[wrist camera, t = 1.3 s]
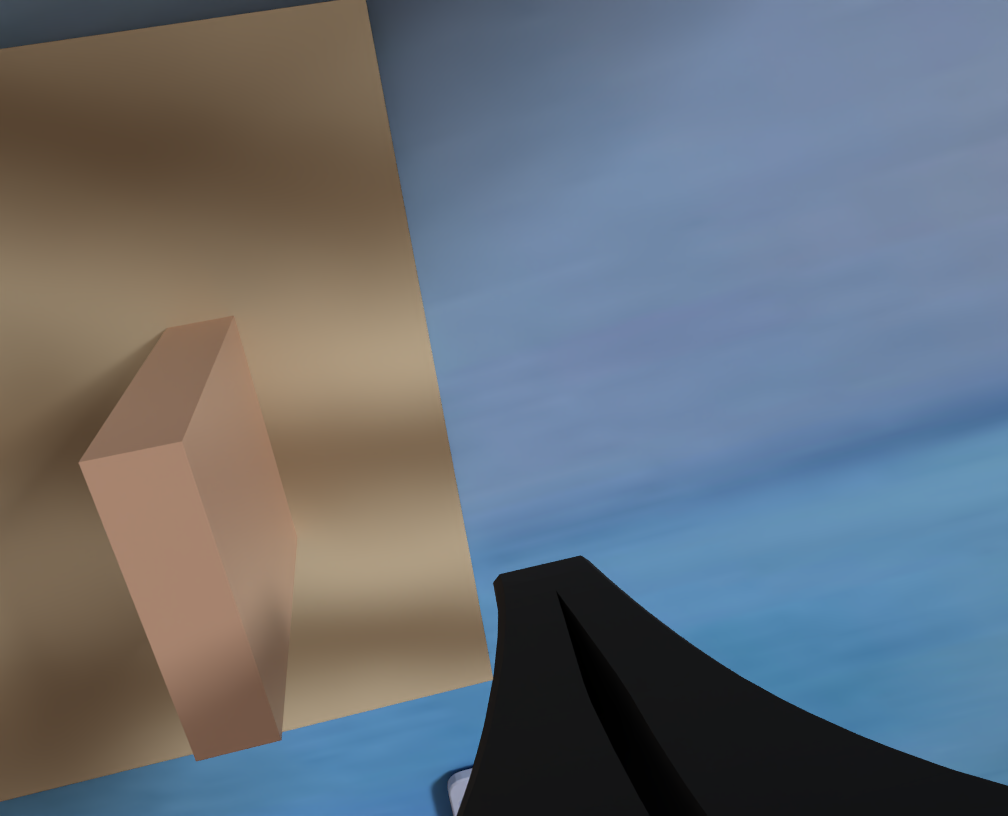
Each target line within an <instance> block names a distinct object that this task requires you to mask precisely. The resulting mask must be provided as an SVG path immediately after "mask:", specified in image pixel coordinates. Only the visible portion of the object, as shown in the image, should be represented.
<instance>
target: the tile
mask: <svg viewBox="0 0 1008 816" xmlns="http://www.w3.org/2000/svg"><path fill="white" fill-rule="evenodd" d="M79 465H80V468H81V470H82V473H83V475H84V478H85V480H86V483H87V485H88V488H89V490H90V493H91V495H92V498H93V501H94V503H95V506H96V508H97V511H98V513H99V516H100V518H101V521H102V523H103V526H104V529H105V531H106V534H107V536H108V539H109V541H110V544H111V546H112V549H113V551H114V554H115V556H116V559H117V562H118V564H119V567H120V569H121V572H122V574H123V577H124V579H125V582H126V584H127V587H128V589H129V592H130V595H131V597H132V600H133V602H134V605H135V607H136V610H137V612H138V615H139V617H140V620H141V622H142V625H143V628H144V630H145V633H146V635H147V638H148V640H149V643H150V645H151V648H152V650H153V653H154V655H155V658H156V661H157V663H158V666H159V668H160V671H161V673H162V676H163V678H164V681H165V683H166V686H167V688H168V691H169V694H170V696H171V699H172V701H173V704H174V706H175V709H176V711H177V714H178V716H179V719H180V721H181V724H182V727H183V729H184V732H185V734H186V737H187V739H188V742H189V744H190V747H191V749H192V752H193V755H194V757H195V760H196V761H200V760H204V759H208V758H212V757H216V756H220V755H224V754H228V753H232V752H236V751H240V750H244V749H248V748H252V747H256V746H260V745H264V744H268V743H272V742H276V741H280V740H282V727H283V715H284V702H285V690H286V677H287V665H288V652H289V640H290V627H291V615H292V602H293V590H294V577H295V564H296V552H297V539H298V538H297V534H296V531H295V527H294V524H293V520H292V517H291V513H290V510H289V506H288V503H287V499H286V496H285V492H284V489H283V485H282V482H281V478H280V475H279V471H278V468H277V464H276V461H275V457H274V454H273V450H272V447H271V443H270V440H269V436H268V433H267V429H266V426H265V422H264V419H263V415H262V412H261V408H260V405H259V401H258V398H257V394H256V391H255V387H254V384H253V380H252V377H251V373H250V369H249V366H248V362H247V359H246V355H245V352H244V348H243V345H242V341H241V338H240V334H239V331H238V327H237V324H236V320H235V317H234V316H228V317H223V318H218V319H212V320H207V321H202V322H196V323H191V324H186V325H180V326H175V327H170V328H166V330H165V331H164V333H163V334H162V336H161V337H160V339H159V340H158V342H157V344H156V345H155V347H154V348H153V350H152V351H151V353H150V354H149V356H148V357H147V359H146V360H145V362H144V363H143V365H142V366H141V368H140V369H139V371H138V372H137V374H136V376H135V377H134V379H133V380H132V382H131V383H130V385H129V386H128V388H127V389H126V391H125V392H124V394H123V395H122V397H121V398H120V400H119V401H118V403H117V404H116V406H115V408H114V409H113V411H112V412H111V414H110V415H109V417H108V418H107V420H106V421H105V423H104V424H103V426H102V427H101V429H100V430H99V432H98V433H97V435H96V436H95V438H94V440H93V441H92V443H91V444H90V446H89V447H88V449H87V450H86V452H85V453H84V455H83V456H82V458H81V459H80V461H79Z"/></svg>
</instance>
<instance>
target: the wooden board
mask: <svg viewBox="0 0 1008 816" xmlns="http://www.w3.org/2000/svg"><path fill="white" fill-rule="evenodd" d="M228 316H234V317H235V320H236V324H237V327H238V331H239V334H240V338H241V341H242V345H243V348H244V352H245V355H246V359H247V362H248V366H249V369H250V373H251V377H252V380H253V384H254V387H255V391H256V394H257V398H258V401H259V405H260V408H261V412H262V415H263V419H264V422H265V426H266V429H267V433H268V436H269V440H270V443H271V447H272V450H273V454H274V457H275V461H276V464H277V468H278V471H279V475H280V478H281V482H282V485H283V489H284V492H285V496H286V499H287V503H288V506H289V510H290V513H291V517H292V520H293V524H294V527H295V531H296V534H297V538H298V539H297V552H296V564H295V577H294V590H293V602H292V615H291V627H290V640H289V652H288V665H287V677H286V690H285V702H284V715H283V727H282V732H284V731H288V730H292V729H296V728H300V727H304V726H308V725H312V724H316V723H320V722H324V721H329V720H333V719H337V718H341V717H345V716H349V715H353V714H357V713H361V712H365V711H369V710H373V709H377V708H381V707H385V706H389V705H393V704H397V703H401V702H405V701H409V700H413V699H417V698H422V697H426V696H430V695H434V694H438V693H442V692H446V691H450V690H454V689H458V688H462V687H466V686H470V685H474V684H478V683H482V682H486V681H490V680H493V676H492V670H491V665H490V660H489V654H488V649H487V644H486V638H485V633H484V628H483V622H482V617H481V612H480V606H479V601H478V596H477V590H476V585H475V580H474V574H473V569H472V564H471V558H470V553H469V548H468V542H467V537H466V532H465V526H464V521H463V516H462V510H461V505H460V500H459V494H458V489H457V484H456V478H455V473H454V468H453V462H452V457H451V452H450V447H449V441H448V436H447V431H446V425H445V420H444V415H443V409H442V404H441V399H440V393H439V388H438V383H437V377H436V372H435V367H434V361H433V356H432V351H431V345H430V340H429V335H428V329H427V324H426V319H425V313H424V308H423V303H422V297H421V292H420V287H419V281H418V276H417V271H416V265H415V260H414V255H413V249H412V244H411V239H410V233H409V228H408V223H407V217H406V212H405V207H404V201H403V196H402V191H401V185H400V180H399V175H398V169H397V164H396V159H395V153H394V148H393V143H392V138H391V132H390V127H389V122H388V116H387V111H386V106H385V100H384V95H383V90H382V84H381V79H380V74H379V68H378V63H377V58H376V52H375V47H374V42H373V36H372V31H371V26H370V20H369V15H368V10H367V4H366V0H336V1H329V2H322V3H315V4H308V5H301V6H294V7H288V8H281V9H274V10H267V11H260V12H253V13H246V14H239V15H232V16H225V17H218V18H211V19H204V20H198V21H191V22H184V23H177V24H170V25H163V26H156V27H149V28H142V29H135V30H128V31H121V32H115V33H108V34H101V35H94V36H87V37H80V38H73V39H66V40H59V41H52V42H45V43H38V44H31V45H25V46H18V47H11V48H4V49H0V802H1V801H5V800H9V799H13V798H17V797H21V796H25V795H29V794H33V793H37V792H41V791H45V790H49V789H53V788H57V787H62V786H66V785H70V784H74V783H78V782H82V781H86V780H90V779H94V778H98V777H102V776H106V775H110V774H114V773H118V772H122V771H126V770H130V769H134V768H138V767H142V766H146V765H151V764H155V763H159V762H163V761H167V760H171V759H175V758H179V757H183V756H187V755H191V754H193V752H192V749H191V747H190V744H189V742H188V739H187V737H186V734H185V732H184V729H183V727H182V724H181V721H180V719H179V716H178V714H177V711H176V709H175V706H174V704H173V701H172V699H171V696H170V694H169V691H168V688H167V686H166V683H165V681H164V678H163V676H162V673H161V671H160V668H159V666H158V663H157V661H156V658H155V655H154V653H153V650H152V648H151V645H150V643H149V640H148V638H147V635H146V633H145V630H144V628H143V625H142V622H141V620H140V617H139V615H138V612H137V610H136V607H135V605H134V602H133V600H132V597H131V595H130V592H129V589H128V587H127V584H126V582H125V579H124V577H123V574H122V572H121V569H120V567H119V564H118V562H117V559H116V556H115V554H114V551H113V549H112V546H111V544H110V541H109V539H108V536H107V534H106V531H105V529H104V526H103V523H102V521H101V518H100V516H99V513H98V511H97V508H96V506H95V503H94V501H93V498H92V495H91V493H90V490H89V488H88V485H87V483H86V480H85V478H84V475H83V473H82V470H81V468H80V465H79V461H80V459H81V458H82V456H83V455H84V453H85V452H86V450H87V449H88V447H89V446H90V444H91V443H92V441H93V440H94V438H95V436H96V435H97V433H98V432H99V430H100V429H101V427H102V426H103V424H104V423H105V421H106V420H107V418H108V417H109V415H110V414H111V412H112V411H113V409H114V408H115V406H116V404H117V403H118V401H119V400H120V398H121V397H122V395H123V394H124V392H125V391H126V389H127V388H128V386H129V385H130V383H131V382H132V380H133V379H134V377H135V376H136V374H137V372H138V371H139V369H140V368H141V366H142V365H143V363H144V362H145V360H146V359H147V357H148V356H149V354H150V353H151V351H152V350H153V348H154V347H155V345H156V344H157V342H158V340H159V339H160V337H161V336H162V334H163V333H164V331H165V330H166V328H170V327H175V326H180V325H186V324H191V323H196V322H202V321H207V320H212V319H218V318H223V317H228Z"/></svg>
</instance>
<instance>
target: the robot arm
mask: <svg viewBox="0 0 1008 816" xmlns="http://www.w3.org/2000/svg"><path fill="white" fill-rule="evenodd" d="M493 585H494V590H495V596H496V602H497V607H498V638H497V648H496V658H495V668H494V675H493V682H492V687H491V692H490V697H489V703H488V708H487V713H486V718H485V723H484V727H483V731H482V735H481V739H480V743H479V747H478V751H477V754H476V758H475V761H474V765H473V768H471V769H467V770H463V771H460V772H458V773H455V774H454V775H453V776H452V777H450V779H449V781H448V786H447V787H448V794H449V798H450V803H451V807H452V811H453V815H454V816H1008V786H1007V785H1003V784H1000V783H996V782H993V781H990V780H986V779H983V778H979V777H976V776H972V775H969V774H966V773H962V772H959V771H955V770H952V769H949V768H946V767H943V766H940V765H938V764H935V763H932V762H929V761H926V760H924V759H921V758H918V757H915V756H913V755H910V754H907V753H904V752H901V751H899V750H896V749H893V748H890V747H888V746H885V745H883V744H880V743H878V742H875V741H873V740H870V739H868V738H865V737H863V736H860V735H858V734H856V733H853V732H851V731H849V730H847V729H844V728H842V727H840V726H838V725H835V724H833V723H831V722H829V721H827V720H824V719H822V718H820V717H818V716H815V715H813V714H811V713H809V712H807V711H805V710H803V709H801V708H799V707H797V706H795V705H793V704H791V703H789V702H787V701H785V700H783V699H781V698H779V697H777V696H775V695H773V694H772V693H770V692H768V691H766V690H764V689H763V688H761V687H759V686H757V685H755V684H753V683H752V682H750V681H748V680H746V679H745V678H743V677H741V676H740V675H738V674H736V673H735V672H733V671H731V670H730V669H728V668H727V667H725V666H724V665H722V664H720V663H719V662H717V661H716V660H714V659H713V658H711V657H710V656H708V655H707V654H705V653H704V652H702V651H701V650H699V649H698V648H696V647H695V646H694V645H692V644H691V643H689V642H688V641H687V640H685V639H684V638H682V637H681V636H680V635H678V634H677V633H676V632H674V631H673V630H672V629H670V628H669V627H668V626H666V625H665V624H664V623H662V622H661V621H660V620H658V619H657V618H656V617H654V616H653V615H652V614H651V613H649V612H648V611H647V610H645V609H644V608H643V607H642V606H640V605H639V604H638V603H637V602H636V601H634V600H633V599H632V598H631V597H630V596H628V595H627V594H626V593H625V592H624V591H622V590H621V589H620V588H619V587H618V586H617V585H615V584H614V583H613V582H612V581H611V580H610V579H609V578H607V577H606V576H605V575H604V574H603V573H602V572H601V571H600V570H599V569H597V568H596V567H595V566H594V565H593V564H592V563H591V562H590V561H589V560H587V559H586V558H584V557H583V556H576V557H572V558H568V559H563V560H559V561H555V562H550V563H546V564H542V565H538V566H533V567H529V568H525V569H520V570H516V571H512V572H507V573H503V574H500V575H499V576H498V577H497V578H496V580H495V581H494V582H493Z"/></svg>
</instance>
